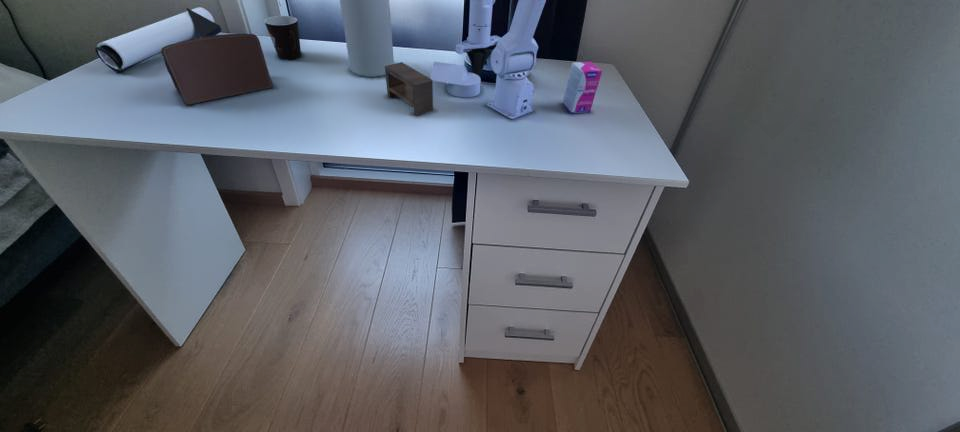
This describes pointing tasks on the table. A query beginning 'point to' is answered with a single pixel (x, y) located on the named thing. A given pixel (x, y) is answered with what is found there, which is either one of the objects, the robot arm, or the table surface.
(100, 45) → the diploma
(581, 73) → the supplement box
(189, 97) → the letter holder
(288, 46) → the coffee mug
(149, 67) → the table surface
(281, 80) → the table surface
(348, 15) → the cylinder vase
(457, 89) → the wedge on round base
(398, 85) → the walnut stand
